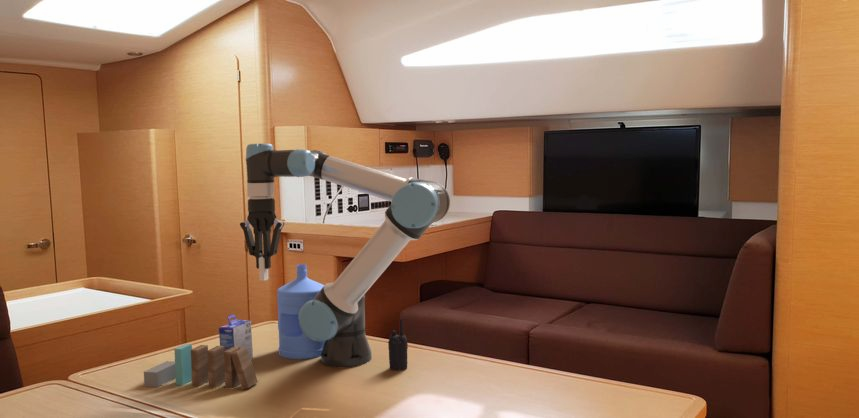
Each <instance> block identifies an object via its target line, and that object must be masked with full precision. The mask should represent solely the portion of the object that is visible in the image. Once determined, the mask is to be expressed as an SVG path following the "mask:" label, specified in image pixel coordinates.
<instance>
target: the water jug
mask: <svg viewBox="0 0 859 418" xmlns="http://www.w3.org/2000/svg"><path fill="white" fill-rule="evenodd" d="M307 267H308V266H307V264H297V265H296V278H295V279H294V280H293V279H292V280H291V281H289V282H288V283H286V284H284V285H282V286H280V287H279V288H278V289H277V290H276V291H277V292H276V293H277V295H276V302H277V319H278V321H277V328H278V342H279V343H278V346H279V347H278V354H279V356H280V357H282V358H284V359H289V360H306V359H307V360H308V359H314V358H318V357H321V353H322V350H323V346H324V343H325V341H314V340H312V339H310V338H309V337H307V336H306V335H305V334H304V333H303V331H302V329H301V327H300V325H299V312H300V309H301V308H302V306H303V305H304V304H305V303H306V302H308V301H310V300H312V299H313V298H314V297H315V296H316V295H317V294H318V293H319V291H320V290H321V289H322V288H323V287H324V285H325V284H323V283H320V282H318V281H315V280H313V279H310V278H309V277H308V270H307Z"/></svg>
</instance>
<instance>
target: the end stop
mask: <svg viewBox="0 0 859 418" xmlns="http://www.w3.org/2000/svg"><path fill="white" fill-rule="evenodd" d="M175 379H176V374H175V360H174V361H172V360H166V361H164V362H162V363H159V364H157V365H155V366H153V367H151V368H148V369H147V370H144V371H143V382H144V383H143V384H144V386H143V387H147V388H148V387H150V388H158V387H160V386H162V385H164V384H166V383H169V382H171V381H172V380H175Z"/></svg>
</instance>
